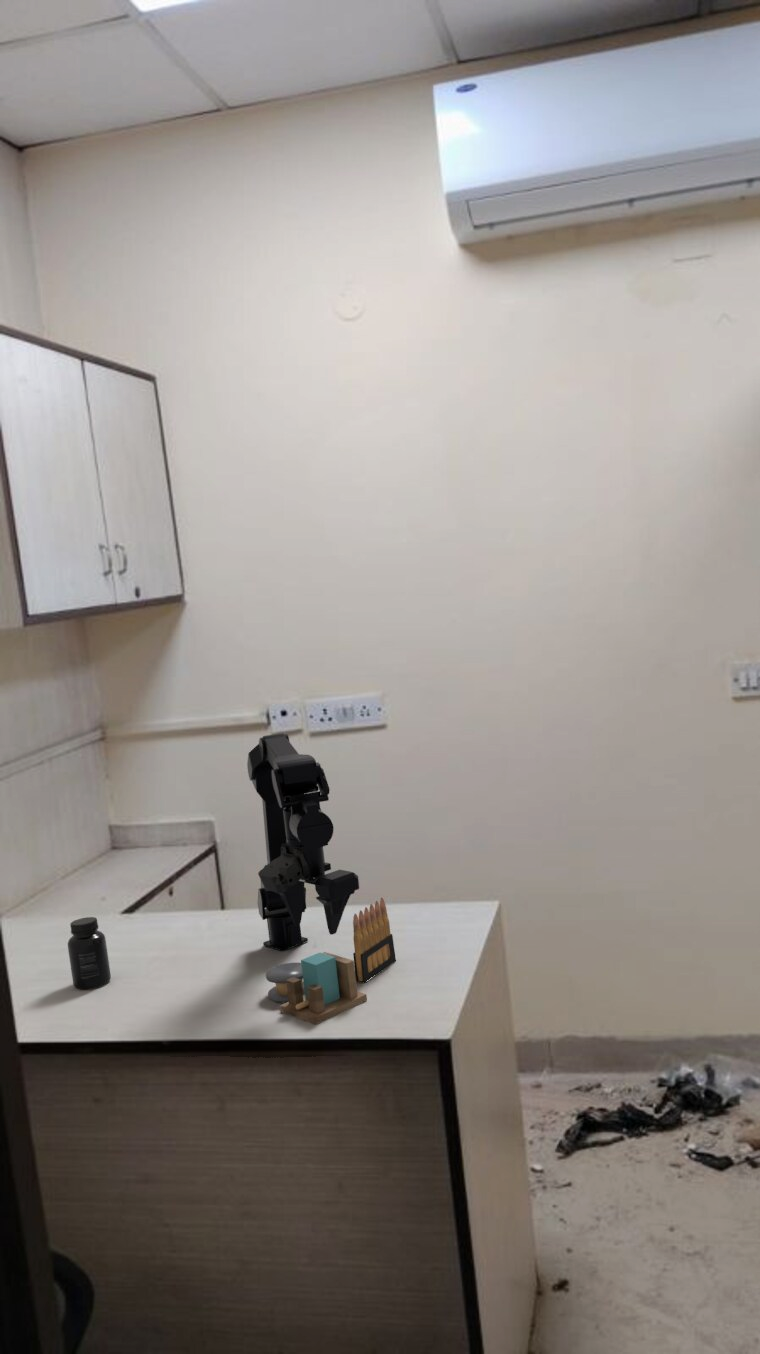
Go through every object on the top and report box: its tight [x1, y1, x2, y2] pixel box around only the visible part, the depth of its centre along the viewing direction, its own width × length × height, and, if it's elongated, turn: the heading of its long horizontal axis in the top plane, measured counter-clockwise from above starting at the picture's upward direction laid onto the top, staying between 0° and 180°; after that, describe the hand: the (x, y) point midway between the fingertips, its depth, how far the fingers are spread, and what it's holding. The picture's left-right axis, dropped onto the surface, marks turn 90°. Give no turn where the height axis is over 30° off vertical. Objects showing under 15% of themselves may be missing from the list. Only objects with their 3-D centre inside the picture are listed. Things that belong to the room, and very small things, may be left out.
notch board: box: [279, 951, 368, 1025], centre depth 169 cm, size 9×11×7 cm
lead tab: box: [296, 952, 340, 1010], centre depth 168 cm, size 4×7×7 cm, turn 132°
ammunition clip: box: [352, 897, 397, 984], centre depth 182 cm, size 11×2×12 cm, turn 148°
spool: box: [265, 962, 305, 1004], centre depth 176 cm, size 8×8×4 cm
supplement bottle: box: [67, 916, 112, 991], centre depth 191 cm, size 7×7×12 cm
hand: (314, 928), depth 168 cm, fingers open, 9 cm apart
